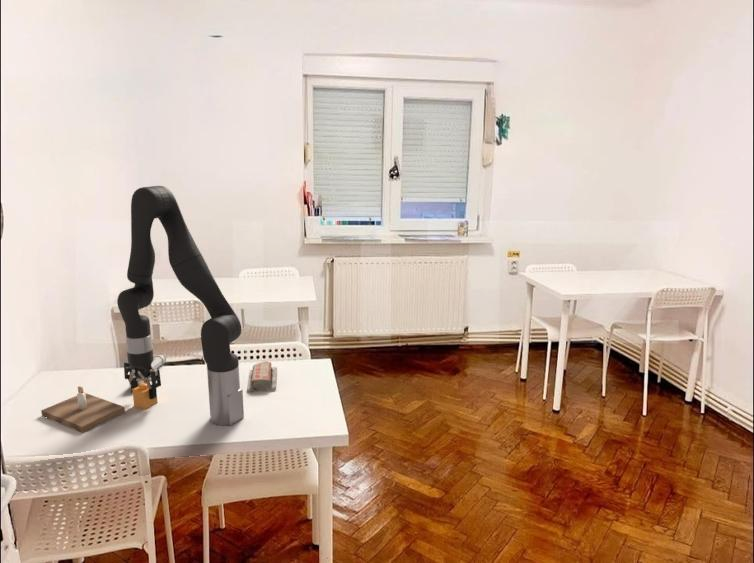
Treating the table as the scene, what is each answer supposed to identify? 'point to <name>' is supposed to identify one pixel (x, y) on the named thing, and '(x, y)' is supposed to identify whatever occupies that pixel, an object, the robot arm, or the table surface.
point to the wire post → (81, 399)
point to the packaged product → (262, 377)
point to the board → (83, 413)
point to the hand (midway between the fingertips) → (143, 395)
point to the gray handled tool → (155, 364)
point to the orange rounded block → (143, 396)
